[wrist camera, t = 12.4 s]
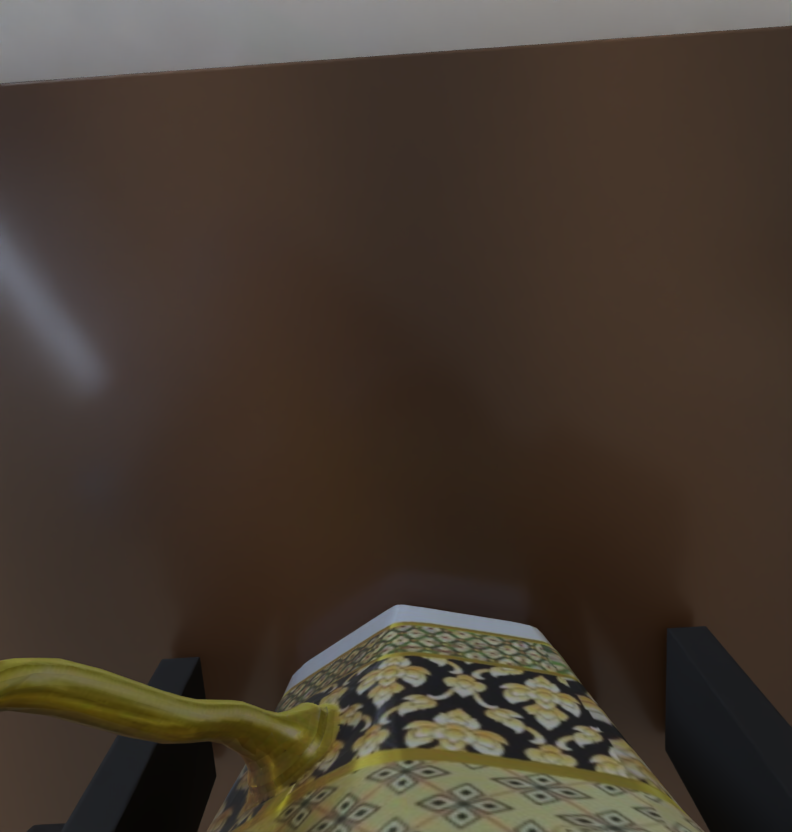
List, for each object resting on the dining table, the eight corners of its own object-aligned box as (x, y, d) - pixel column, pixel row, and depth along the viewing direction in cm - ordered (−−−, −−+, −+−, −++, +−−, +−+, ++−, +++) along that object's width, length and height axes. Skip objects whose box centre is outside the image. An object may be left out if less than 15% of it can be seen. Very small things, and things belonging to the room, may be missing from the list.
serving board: (73, 1103, 18) (51, 1161, 17) (-143, 110, 13) (-196, 96, 12) (853, 1063, 18) (885, 1119, 17) (950, 31, 13) (1006, 9, 12)
